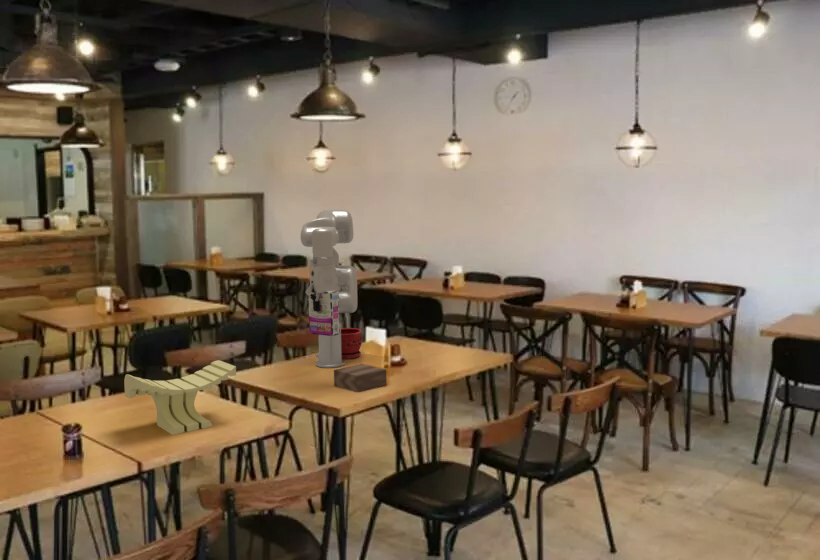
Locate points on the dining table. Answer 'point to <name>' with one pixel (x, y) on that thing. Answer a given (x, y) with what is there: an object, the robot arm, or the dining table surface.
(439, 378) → the dining table surface
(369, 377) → the walnut riser
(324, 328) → the candy bar box
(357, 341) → the plant pot
